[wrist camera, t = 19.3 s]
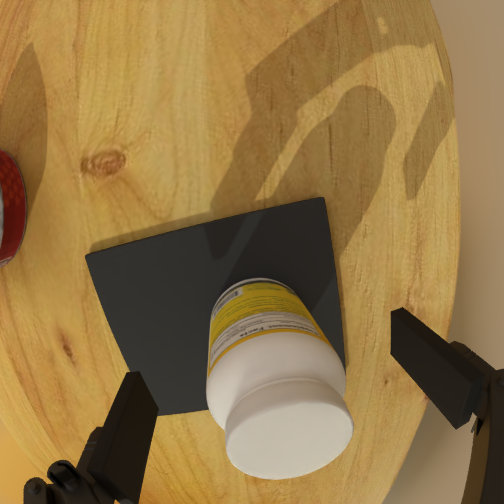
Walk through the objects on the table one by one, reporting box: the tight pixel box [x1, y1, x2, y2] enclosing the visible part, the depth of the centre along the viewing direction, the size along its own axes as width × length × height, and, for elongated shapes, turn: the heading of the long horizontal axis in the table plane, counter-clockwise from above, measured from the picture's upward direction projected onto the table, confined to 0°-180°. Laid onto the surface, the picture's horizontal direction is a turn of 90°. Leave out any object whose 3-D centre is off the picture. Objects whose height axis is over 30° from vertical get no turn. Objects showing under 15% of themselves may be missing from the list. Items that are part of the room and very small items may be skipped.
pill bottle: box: [206, 278, 354, 479], centre depth 14 cm, size 6×6×11 cm
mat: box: [85, 197, 346, 416], centre depth 20 cm, size 16×14×1 cm
